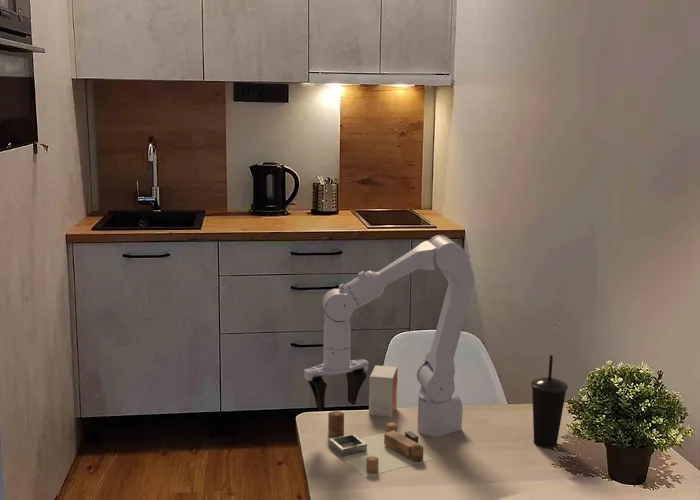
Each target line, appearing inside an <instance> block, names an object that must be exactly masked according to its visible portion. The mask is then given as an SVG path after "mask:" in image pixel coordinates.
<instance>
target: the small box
mask: <svg viewBox="0 0 700 500" xmlns="http://www.w3.org/2000/svg"><path fill="white" fill-rule="evenodd" d="M398 372H399V371H398V366H390V365H389V366H388V365H387V366H386V365H374V368H373V369H372V372H371V373H370V375H369V377H368V379H369V380H368V385H369V386H368V388H369V389H368V416H369V415H370V416H379V417H380V416H381V417H389V418H390V417H393V415H394V412H395V410H397V409H398V408H397V401H398Z"/></svg>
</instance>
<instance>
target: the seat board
mask: <svg viewBox="0 0 700 500" xmlns="http://www.w3.org/2000/svg"><path fill="white" fill-rule="evenodd" d="M385 430H386V431H385V432H383V433H381V432H380V433H377V434H373V435H369V436H364V437H361V438H360V437H359V438H360V439H361V440H362V441H364V442H365V443H366V444H367V451H365V452H361V453H357V454H353V455H349V456H345V457H342V456H340V455H339V454H338V453H337V452H336V451H334V450H333V449H332V448H331V447H330V446H329V445H328V447H329V448H330V449H331V450H333V451H334V452H335V454H336V455H338V456H340V457H341V458H342V459H343V460H344V461H346V462H347V463H348V464H349V465H350V466H351V467H352V468H353V469H355V470H356V472H358V473H359V474H360V475H362V476H363V477H364V478H367V477H371V476H375V475H379V474H383V473H386V472H392V471H394V470H399V469H403V468H406V467H407V468H408V467H409V466H415V465H418V464H422V463H426V462H430V461H434V459H433V458H431V457H430V455H427V454H426V453H424V452H423V460H421V461H413V460H411V459H410V458H408V457H406V456H404V455H402V454H401V453H399V452H397V451H396V450H394V449H392V448H390V447H389V446H387V445H385V444H384V433H387V432H390V431H393V430H394V431H396V432H398V424H397V423H396V422H388V423H386V429H385ZM404 436H405V437H407V438H409V439H411V440H412V441H414V442H416V443H418V444H419V435H417V434H416V433H414V432H413V431H411V430H408V431H405V432H404ZM354 445H355V444H354V443H353V442H350V443H346V444H341V445H340V446H342V447H343V448H346V447H350V446H354Z"/></svg>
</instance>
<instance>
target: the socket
mask: <svg viewBox="0 0 700 500" xmlns="http://www.w3.org/2000/svg"><path fill="white" fill-rule="evenodd" d="M350 442H353V443H354V444H355V445H354V446H350V447H346V448H343V447H342V446H340V445H341V444H346V443H350ZM329 446H330V447H331V448H332V449H333V451H334V452H335V451H336V452H337V453H338V454H339V455H338V454H337V453H336V452H335V453H336V454H337V455H338V456H339V457H341V456H342V457H345V456H349V455H353V454H357V453H361V452H365V451H367V444H366V443H365V442H364V441H362V440H361V439H360V437H358V436H357V435H356V434H355V433H350V434H344V436H339V437H335V438H331V437H330V438H328V447H329ZM330 447H329V448H330ZM331 448H330V449H331ZM332 449H331V450H332ZM342 457H341V458H342Z"/></svg>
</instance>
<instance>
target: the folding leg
mask: <svg viewBox="0 0 700 500" xmlns="http://www.w3.org/2000/svg"><path fill="white" fill-rule="evenodd" d="M383 433H384V444H385V445H387V446H389V447H390V448H392V449H394V450H396V451H397V452H399V453H401V454H402V455H404V456H406V457H408V458H410V459H411V460H413V461H421V460H423V453H424V449H425V448H424V446H423V445H421V444H420V443H419V442H418V443H416V442H414V441H412V440H411V439H409V438H407V437H405V435H404V434H401V433H399V432H398V431H397V432H396V431H394V430H393V431H390V432H387V433H386V432H383Z"/></svg>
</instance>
